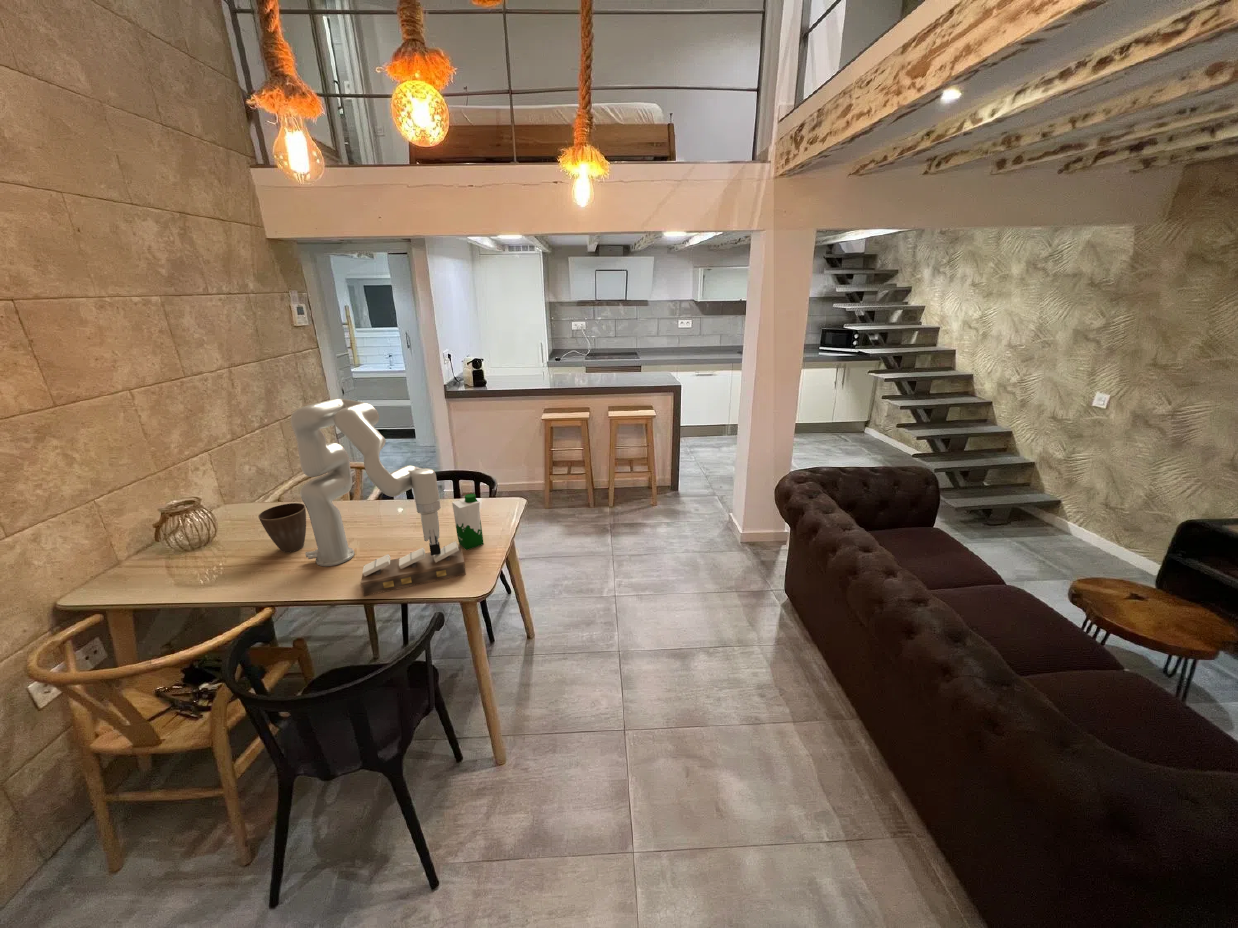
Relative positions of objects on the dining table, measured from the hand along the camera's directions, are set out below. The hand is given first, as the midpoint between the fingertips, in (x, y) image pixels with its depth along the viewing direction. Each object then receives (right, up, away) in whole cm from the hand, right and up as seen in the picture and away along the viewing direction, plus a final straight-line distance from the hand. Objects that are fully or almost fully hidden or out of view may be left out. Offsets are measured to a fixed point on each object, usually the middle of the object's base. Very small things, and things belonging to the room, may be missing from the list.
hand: (435, 553), depth 167 cm
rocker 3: (+3, 0, +2) cm, 4 cm away
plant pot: (-64, -2, +21) cm, 68 cm away
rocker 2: (-7, -2, -2) cm, 7 cm away
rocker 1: (-17, -3, -6) cm, 18 cm away
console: (-7, -8, 0) cm, 10 cm away
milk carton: (+6, 0, +21) cm, 22 cm away
